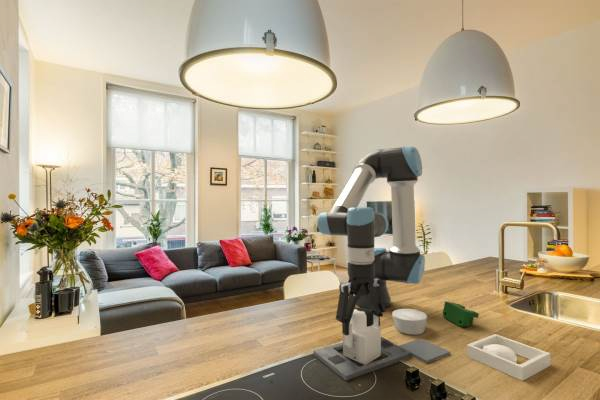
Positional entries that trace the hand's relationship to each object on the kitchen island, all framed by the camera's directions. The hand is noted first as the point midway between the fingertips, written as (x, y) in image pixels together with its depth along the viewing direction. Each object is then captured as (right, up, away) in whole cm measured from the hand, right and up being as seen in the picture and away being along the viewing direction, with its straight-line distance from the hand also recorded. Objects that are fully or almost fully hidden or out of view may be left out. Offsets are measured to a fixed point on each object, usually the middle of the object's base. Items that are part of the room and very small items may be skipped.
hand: (361, 341), depth 88 cm
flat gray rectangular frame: (0, -4, 0) cm, 4 cm away
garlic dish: (+39, -4, -3) cm, 39 cm away
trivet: (+18, -4, +2) cm, 19 cm away
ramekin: (+20, -4, +18) cm, 27 cm away
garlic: (+37, -4, -3) cm, 37 cm away
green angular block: (+40, -4, +24) cm, 47 cm away
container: (0, -4, 0) cm, 4 cm away
